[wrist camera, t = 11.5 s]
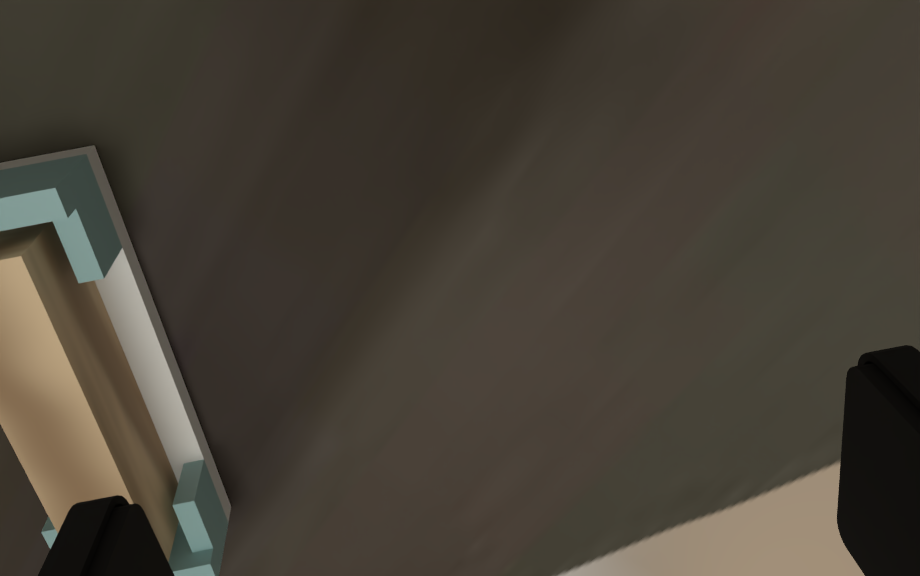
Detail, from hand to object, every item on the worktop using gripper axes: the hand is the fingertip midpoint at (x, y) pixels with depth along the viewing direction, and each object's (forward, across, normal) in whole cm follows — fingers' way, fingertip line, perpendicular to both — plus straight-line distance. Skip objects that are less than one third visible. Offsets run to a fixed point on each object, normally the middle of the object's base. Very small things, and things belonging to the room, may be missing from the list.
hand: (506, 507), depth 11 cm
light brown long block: (+24, +17, +11) cm, 32 cm away
